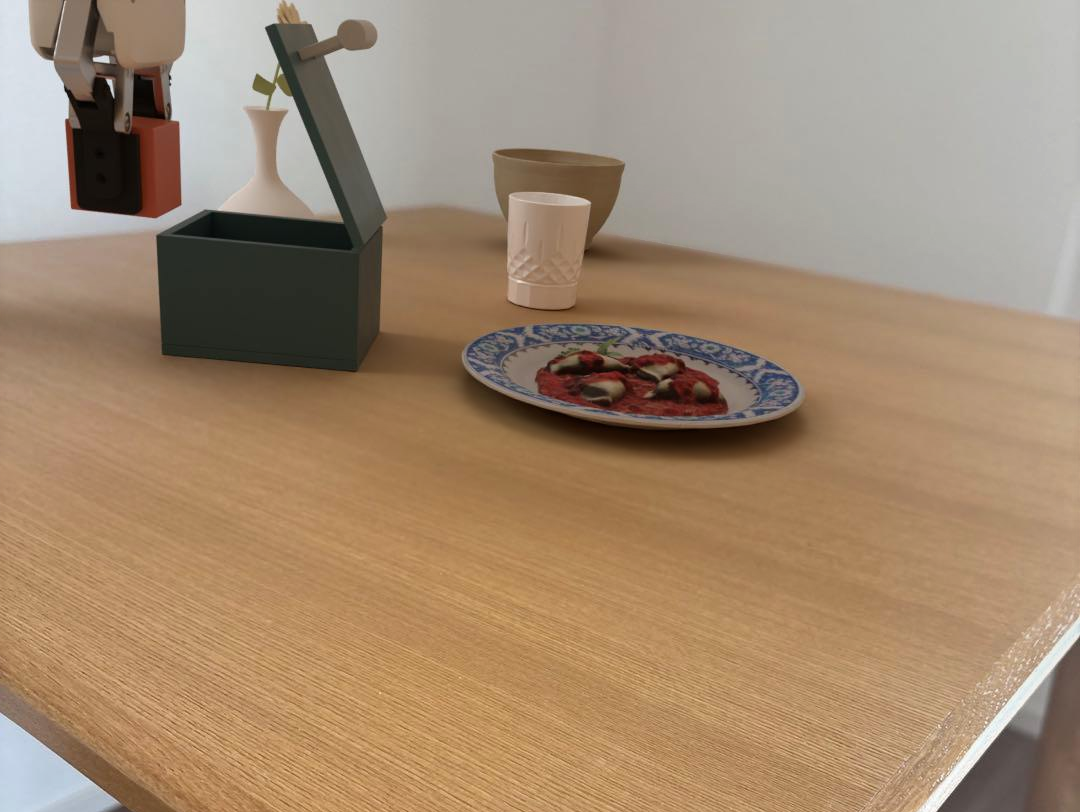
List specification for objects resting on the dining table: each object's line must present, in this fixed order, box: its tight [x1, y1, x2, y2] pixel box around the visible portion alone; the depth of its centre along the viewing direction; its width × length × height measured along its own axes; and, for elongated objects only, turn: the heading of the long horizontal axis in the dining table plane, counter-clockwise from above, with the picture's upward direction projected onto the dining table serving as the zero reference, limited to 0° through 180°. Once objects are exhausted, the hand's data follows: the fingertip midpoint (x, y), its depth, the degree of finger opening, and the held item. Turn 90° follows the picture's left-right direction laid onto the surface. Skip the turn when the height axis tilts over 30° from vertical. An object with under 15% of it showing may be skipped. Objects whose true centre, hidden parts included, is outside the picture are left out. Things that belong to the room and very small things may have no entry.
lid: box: [264, 18, 388, 248], centre depth 84 cm, size 15×13×6 cm
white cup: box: [506, 192, 591, 311], centre depth 110 cm, size 8×8×10 cm
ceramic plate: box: [461, 323, 807, 431], centre depth 85 cm, size 26×26×3 cm
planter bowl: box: [491, 147, 626, 251], centre depth 139 cm, size 16×16×11 cm
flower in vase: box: [217, 0, 317, 220], centre depth 128 cm, size 13×11×25 cm
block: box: [64, 116, 183, 219], centre depth 60 cm, size 4×4×4 cm
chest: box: [155, 208, 384, 372], centre depth 89 cm, size 15×13×9 cm
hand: (127, 200), depth 61 cm, fingers closed on block, 4 cm apart
